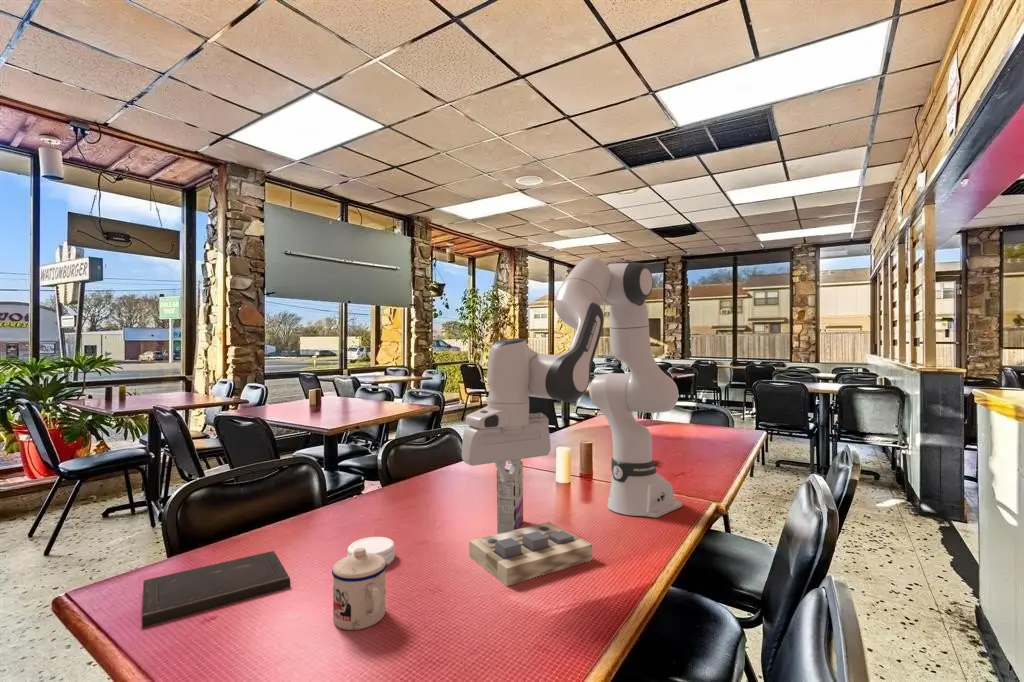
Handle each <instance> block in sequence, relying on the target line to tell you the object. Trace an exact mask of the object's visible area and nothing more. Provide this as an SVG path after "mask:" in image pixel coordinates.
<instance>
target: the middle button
mask: <svg viewBox="0 0 1024 682" xmlns="http://www.w3.org/2000/svg"><path fill="white" fill-rule="evenodd" d="M523 546H524V547H525V548H527V549H529V550H530V551H532V552H535V551H538V550H542V549H546V548H548V537H547V536H545V535H544V534H542V533H540V532H538V531H536V532H532V533H528V534H524V535H523Z"/></svg>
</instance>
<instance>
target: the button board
mask: <svg viewBox="0 0 1024 682" xmlns="http://www.w3.org/2000/svg"><path fill="white" fill-rule="evenodd" d="M536 531H538V532H540V533H542V534H544V535H545V536H547V537H548V534H551V533H555V532H559V531H564V532H566V533H568V534H570V535H572V536H573V541H571V542H568V543H564V544H560V545H558V544H556V543H555V542H553V541H551V540H549V539H548V548H546V549H542V550H538V551H535V552H532V551H530V550H529V549H527V548H525V547H524V546H523V535H524V534H528V533H532V532H536ZM508 538H512V539H514V540H516V541H517V542H519V543H520V544H521V555H520V556H516V557H512V558H509V559H505V560H504V559H503V558H501V557H500V556H498V555H497V554H496V553H495V541H499V540H504V539H508ZM468 544H469V545H468V547H469V549H468V550H469V551H468V553H469V554H468V555H469V556H470V557H469V558H471V559H472V560H473V561H474V560H475V561H474V562H475V563H477V564H478V566H480V567H482V568H483V569H484V570H486V572H488V573H489V574H490V575H492V576H493V577H495V579H497V580H498V581H499V582H500V583H502V585H504V586H505V587H509V585H510V586H512V585H515V584H519V583H518V582H520V583H523V582H526V581H529V580H531V579H530V578H533V579H535V578H534V577H536V578H538V577H537V576H539V577H541V576H540V575H542V576H544V575H543V574H546V575H549V574H552V573H556V572H558V570H559V571H561V570H565V569H568V568H571V566H572V567H575V566H579V565H582V564H585V563H588V562H591V560H592V561H593V544H592V543H591V542H589V541H587V540H585V539H583V538H581V537H579V536H577V535H575V534H574V533H571V532H569V531H568V530H565V529H563V528H562V527H559V526H557V525H555V524H554V523H552V522H550V521H547V522H544V523H538V524H535V525H531V526H530V525H529V526H526V527H525V526H524V527H522V528H519V529H517V530H513V531H508V532H504V533H500V534H498V533H496V534H491V535H488V536H483V537H481V538H480V537H479V538H476V539H471V540H469V542H468ZM584 562H585V563H584ZM581 563H582V564H581ZM555 571H556V572H555ZM551 572H552V573H551ZM548 573H549V574H548ZM528 579H529V580H528ZM525 580H526V581H525ZM522 581H523V582H522Z"/></svg>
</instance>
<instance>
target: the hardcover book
mask: <svg viewBox="0 0 1024 682" xmlns="http://www.w3.org/2000/svg"><path fill="white" fill-rule="evenodd" d="M142 582H143V584H142V585H143V589H142V615H141V616H142V617H141V618H142V619H141V627H142V628H147V627H150V626H154V625H157V624H161V623H165V622H168V621H169V622H170V621H171V620H176V619H179V618H184V617H186V616H190V615H194V614H199V613H200V612H204V611H208V610H212V609H216V608H220V607H223V606H226V605H230V604H234V603H238V602H242V601H244V600H245V601H246V600H249V599H252V598H257V597H259V596H263V595H268V594H270V593H274V592H278V591H282V590H285V589H290V588H291V578H290V576H289V574H288V572H287V571H286V569H285V567H284V566H283V564H282V562H281V561H280V559H279V557H278V556H277V554H276V552H275V550H272V551H266V552H263V553H258V554H254V555H249V556H246V557H245V556H244V557H240V558H237V559H232V560H227V561H223V562H218V563H214V564H209V565H205V566H204V565H203V566H201V567H197V568H192V569H187V570H184V571H179V572H175V573H170V574H165V575H161V576H156V577H152V578H148V579H144V580H143V581H142Z"/></svg>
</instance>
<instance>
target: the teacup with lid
mask: <svg viewBox="0 0 1024 682" xmlns="http://www.w3.org/2000/svg"><path fill="white" fill-rule="evenodd" d="M387 566H388V565H387V563H386V561H385V559H384V558H383V557H382V556H380V555H377V554H372V553H368V552H366V550H365V548H357V549H355V550H354V554H352V555H350V556H345V557H343V558H340V559H339V560H338V561H337V562H335V563H334V565H333V567H332V571H331V575H332V577H333V579H332V580H333V582H332V583H333V587H332V588H333V591H332V592H333V593H332V597H333V599H332V608H333V609H332V620H333V623H334V625H335V626H336V627H338V628H339V629H342V630H346V631H358V630H363V629H367V628H370V627H372V626H374V625H376V624H377V623H379V622H380V621H381V620H382V619H383V618H384V616H385V614H386V570H387Z"/></svg>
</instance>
